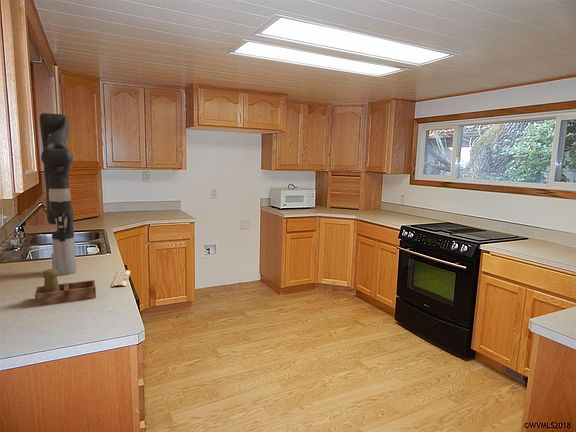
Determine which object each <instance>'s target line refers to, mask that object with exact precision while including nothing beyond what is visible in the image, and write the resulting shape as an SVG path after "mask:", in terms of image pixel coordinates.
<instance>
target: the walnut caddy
mask: <svg viewBox="0 0 576 432" xmlns="http://www.w3.org/2000/svg"><path fill="white" fill-rule="evenodd" d="M95 281H96V280H95V279H92V280H86V281H85V280H83V281H74V282H73V281H72V282H65V283H58V284H59V289H60V291H55V292H47V293H44V285H42V286H41V285H40V286H39V285H38V286H37V287H36V291H35V293H34V301H35V302H34V303H35V307H38V306H39V307H40V306H46V305H53V304H61V303H69V302H75V301H84V300H90V299H97V293H96V292H97V291H96V282H95Z"/></svg>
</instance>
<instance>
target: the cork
mask: <svg viewBox="0 0 576 432" xmlns="http://www.w3.org/2000/svg"><path fill="white" fill-rule="evenodd" d="M58 276H59V275H58V271H57V270H56V269H53V268H49V269H45V270H44V271H43V272H42V277H43V279H44V284H43V286H44V293H47V292H55V291H60V289H59V284H60V283H59V281H58Z"/></svg>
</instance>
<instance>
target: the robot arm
mask: <svg viewBox="0 0 576 432" xmlns="http://www.w3.org/2000/svg"><path fill="white" fill-rule="evenodd" d="M39 128H40V135H41V144H42V152H41V156H40V159H41V162H42V165H43V173H44V183H45V194H46V198H45V199H46V219H47V222H48V224H49V225H55V227H56V230H55V231H53V232H52V233H51V241H52V243H51V244H52V253H51V264H52V269H56V270H57V271H58V276H66V275H71V274H74V273H76V272H77V264H76V263H77V262H76V261H77V259H76V246H75V243H76V242H75V233H74V208H73V206H72V197H71V196H72V194H71V191H70V172H71V167H72V163H73V159H74V158H73V156H74V155H73V153H72V152H71V149H68V147H67V146H68V145H67V140H68V137H69V136H68V135H69V130H70V124H69V119H68V116H67V115H65V114H61V113H49V112H48V113H47V112H43V113H40V115H39Z"/></svg>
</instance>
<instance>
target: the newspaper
mask: <svg viewBox="0 0 576 432" xmlns="http://www.w3.org/2000/svg"><path fill="white" fill-rule="evenodd" d="M130 275H131V270H128V269H127V270H126V269H124V270H123V269H121V270H118V271H117V272H116V274H115V276H114V279H113V281H112V284H111V286H110V288H113V287H115V286H124V287H126V286H127V285H128V280H129V277H130Z"/></svg>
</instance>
